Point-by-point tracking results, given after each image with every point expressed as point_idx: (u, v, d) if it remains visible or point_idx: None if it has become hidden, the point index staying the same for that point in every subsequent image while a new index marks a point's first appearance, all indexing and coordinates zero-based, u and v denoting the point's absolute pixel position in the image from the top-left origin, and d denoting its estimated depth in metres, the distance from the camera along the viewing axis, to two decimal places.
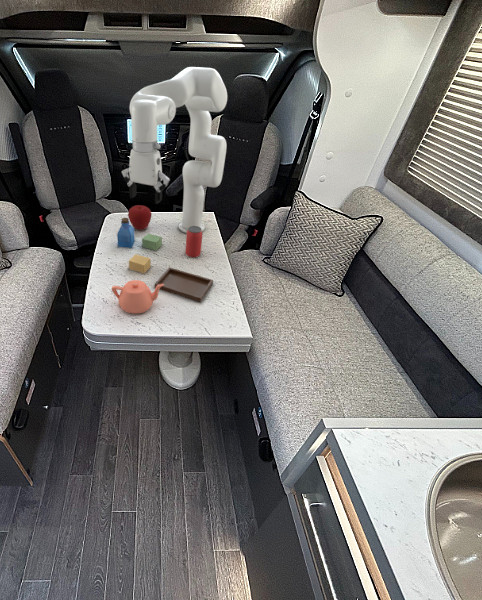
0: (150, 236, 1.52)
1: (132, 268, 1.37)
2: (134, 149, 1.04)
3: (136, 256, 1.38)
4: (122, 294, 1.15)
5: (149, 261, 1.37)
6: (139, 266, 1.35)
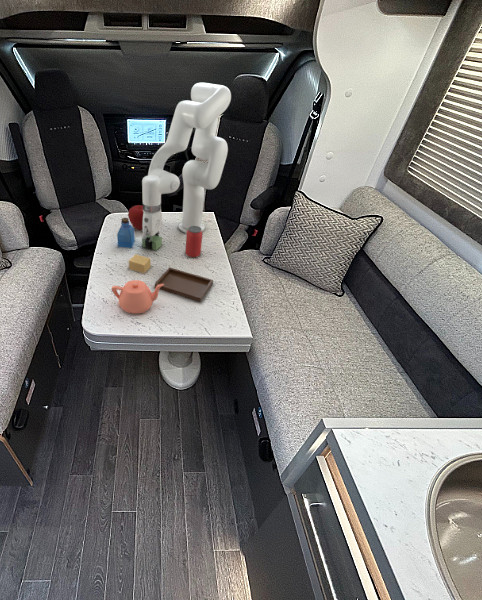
0: None
1: (132, 268, 1.37)
2: None
3: (136, 256, 1.38)
4: (122, 294, 1.15)
5: (149, 261, 1.37)
6: (139, 266, 1.35)
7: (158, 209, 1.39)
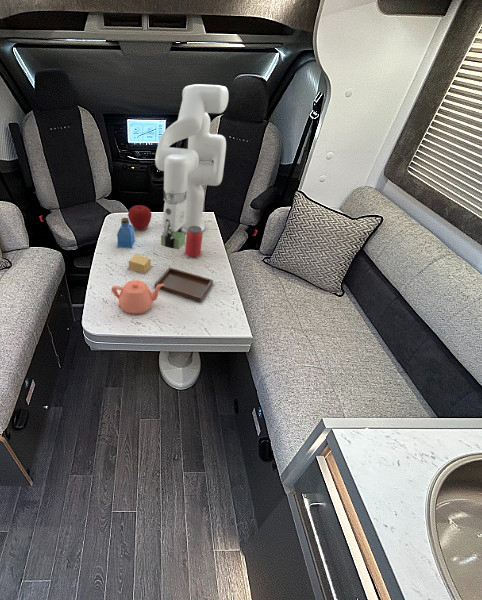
0: (170, 232, 1.23)
1: (132, 268, 1.37)
2: None
3: (136, 256, 1.38)
4: (122, 294, 1.15)
5: (149, 261, 1.37)
6: (139, 266, 1.35)
7: (183, 198, 1.11)
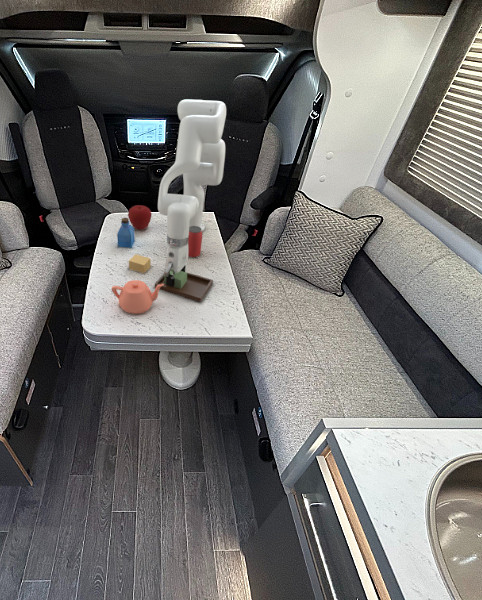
0: None
1: (132, 268, 1.37)
2: None
3: (136, 256, 1.38)
4: (122, 294, 1.15)
5: (149, 261, 1.37)
6: (139, 266, 1.35)
7: (186, 242, 1.17)
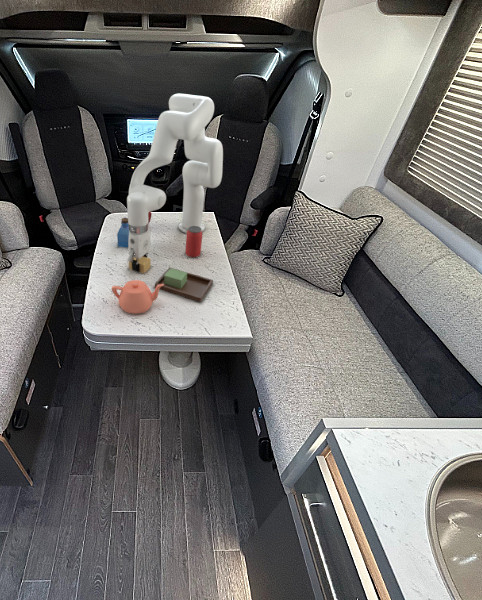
0: (173, 271, 1.29)
1: None
2: None
3: None
4: (122, 294, 1.15)
5: (149, 261, 1.37)
6: None
7: (145, 229, 1.25)
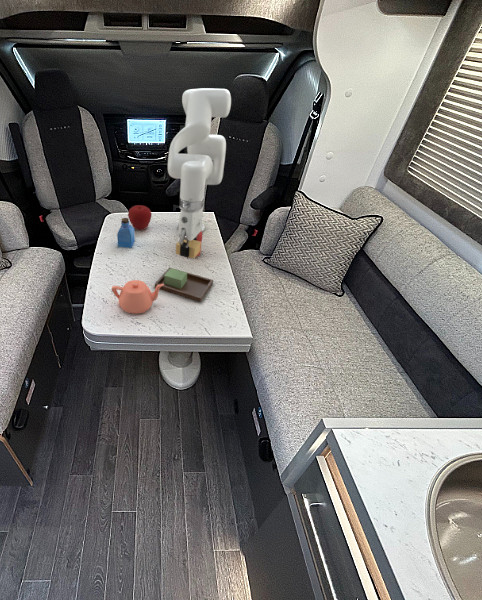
0: (173, 271, 1.29)
1: None
2: None
3: None
4: (122, 294, 1.15)
5: (199, 245, 1.18)
6: None
7: (200, 206, 1.07)
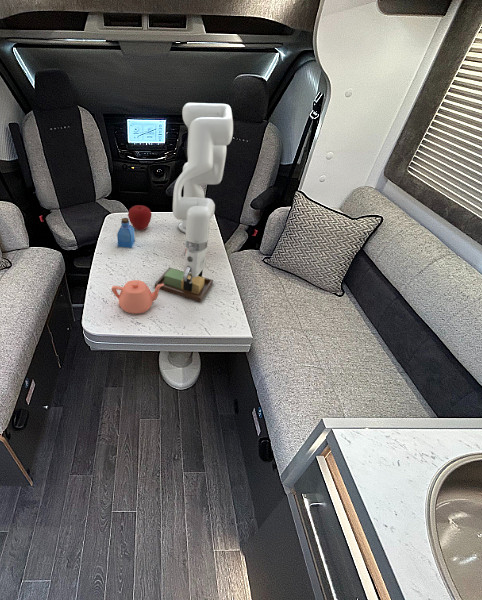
0: (173, 271, 1.29)
1: None
2: None
3: None
4: (122, 294, 1.15)
5: (203, 281, 1.26)
6: (193, 286, 1.24)
7: (205, 246, 1.14)
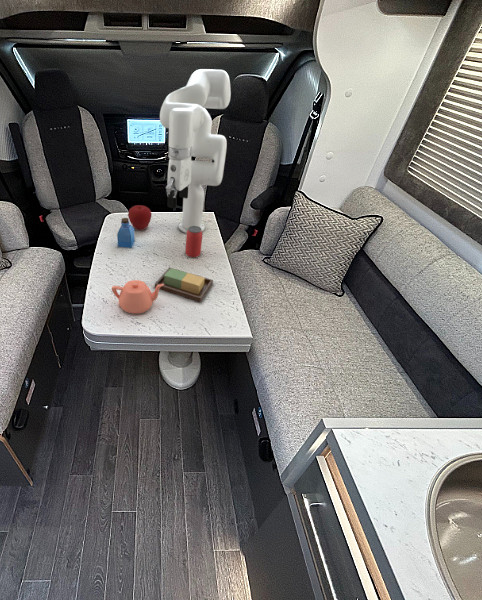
0: (173, 271, 1.29)
1: (185, 288, 1.26)
2: None
3: (189, 275, 1.27)
4: (122, 294, 1.15)
5: (203, 281, 1.26)
6: (193, 286, 1.24)
7: (189, 154, 1.08)
